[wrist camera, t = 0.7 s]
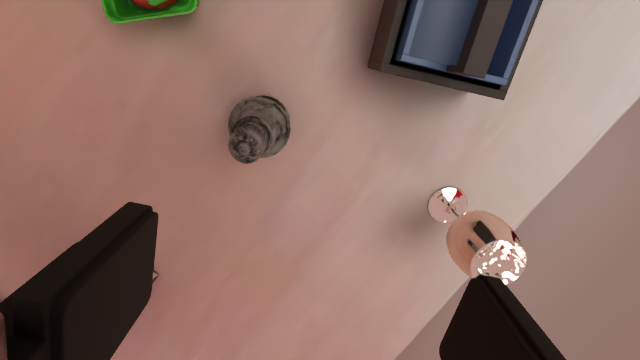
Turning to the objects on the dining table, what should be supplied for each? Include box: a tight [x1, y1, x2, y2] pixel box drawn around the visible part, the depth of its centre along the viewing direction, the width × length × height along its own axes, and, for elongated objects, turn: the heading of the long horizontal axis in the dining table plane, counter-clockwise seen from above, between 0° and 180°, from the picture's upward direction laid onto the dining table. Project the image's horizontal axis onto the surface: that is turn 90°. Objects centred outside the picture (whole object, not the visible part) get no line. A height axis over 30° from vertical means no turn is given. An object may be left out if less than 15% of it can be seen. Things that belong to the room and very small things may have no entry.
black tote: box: [368, 0, 543, 100], centre depth 30 cm, size 13×11×7 cm
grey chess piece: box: [228, 96, 290, 163], centre depth 31 cm, size 6×6×12 cm
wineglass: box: [428, 187, 527, 285], centre depth 35 cm, size 6×6×12 cm
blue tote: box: [391, 0, 539, 85], centre depth 27 cm, size 11×9×12 cm
